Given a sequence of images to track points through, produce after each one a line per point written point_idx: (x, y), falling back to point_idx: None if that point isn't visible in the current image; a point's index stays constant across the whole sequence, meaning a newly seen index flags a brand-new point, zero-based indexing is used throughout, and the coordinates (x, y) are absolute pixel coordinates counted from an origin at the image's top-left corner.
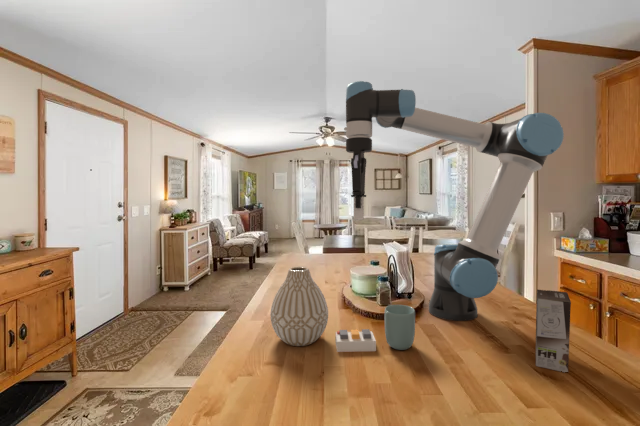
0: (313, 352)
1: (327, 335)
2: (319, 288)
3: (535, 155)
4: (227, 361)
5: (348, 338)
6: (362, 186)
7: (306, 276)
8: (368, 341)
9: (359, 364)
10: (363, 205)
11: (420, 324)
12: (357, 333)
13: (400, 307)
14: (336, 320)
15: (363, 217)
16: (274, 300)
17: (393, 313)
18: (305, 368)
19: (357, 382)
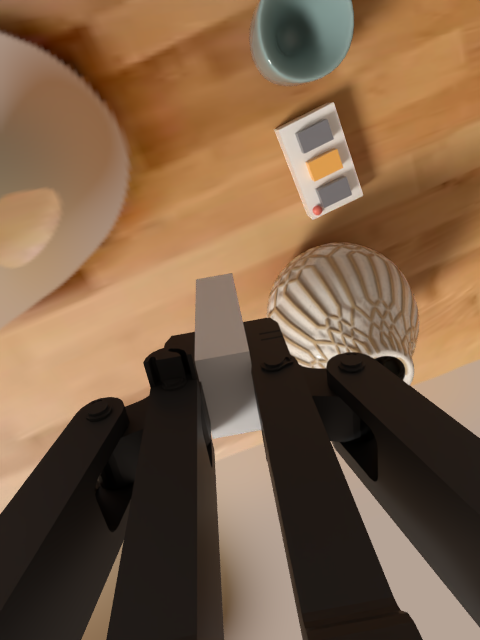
0: (371, 237)
1: (280, 246)
2: (337, 299)
3: None
4: (439, 357)
5: (339, 175)
6: (271, 430)
7: (394, 338)
8: (339, 121)
9: (399, 121)
10: (206, 320)
11: (96, 5)
12: (333, 155)
13: (264, 32)
14: (183, 263)
15: (202, 282)
16: None
17: (351, 38)
18: (437, 222)
19: (470, 101)
